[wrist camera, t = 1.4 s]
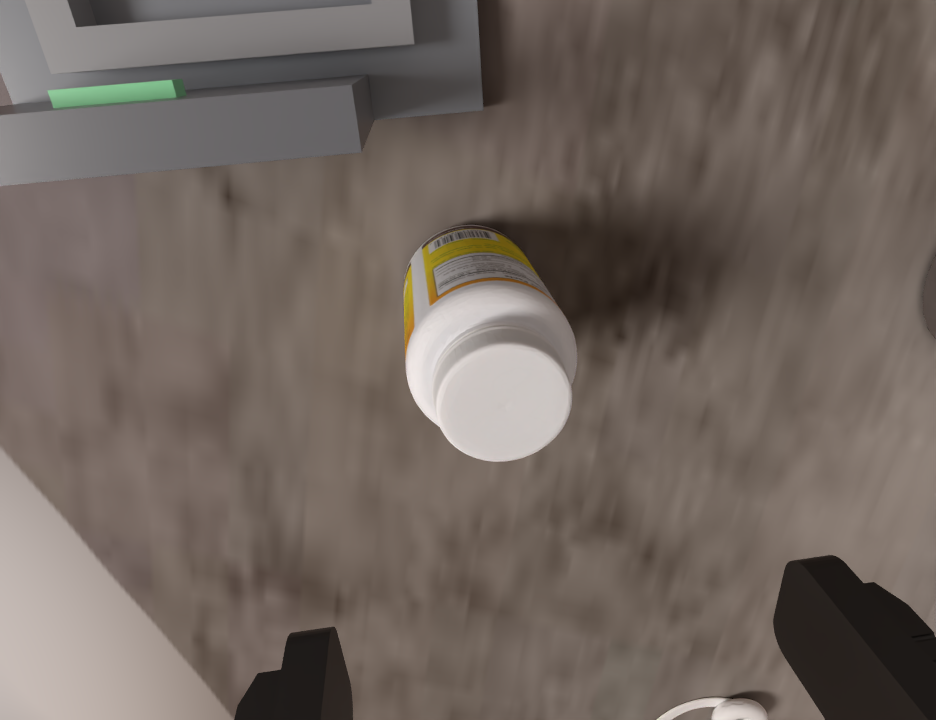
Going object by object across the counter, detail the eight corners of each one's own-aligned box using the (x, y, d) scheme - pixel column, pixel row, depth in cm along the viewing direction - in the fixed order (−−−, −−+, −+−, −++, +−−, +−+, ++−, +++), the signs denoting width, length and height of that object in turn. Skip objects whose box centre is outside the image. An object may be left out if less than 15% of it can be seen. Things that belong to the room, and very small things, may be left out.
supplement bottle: (469, 364, 28) (504, 514, 19) (376, 289, 26) (364, 418, 17) (556, 278, 26) (639, 396, 17) (465, 191, 24) (505, 274, 15)
